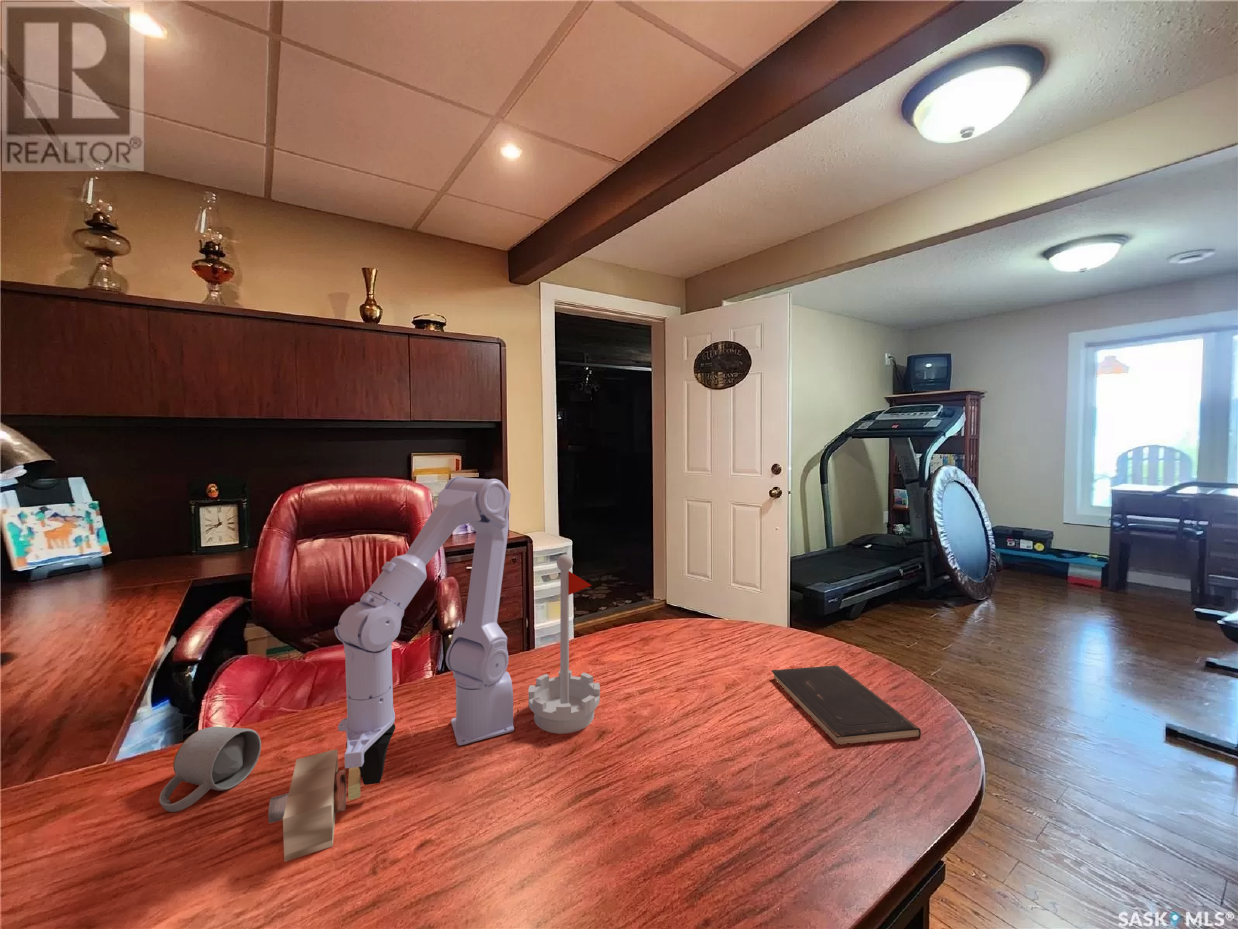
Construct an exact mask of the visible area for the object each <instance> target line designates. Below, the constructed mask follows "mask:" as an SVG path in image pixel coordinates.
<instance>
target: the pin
mask: <svg viewBox="0 0 1238 929" xmlns="http://www.w3.org/2000/svg"><path fill="white" fill-rule="evenodd" d="M288 795H289V792H288V793H285V794H281V795H278V796H277V795H276V796H273V797H270V800H269V804H268V811H267V812H268V817H267V819H268V824H272V823H276V822H280V821H283V816H284V812H285V808H286V803H287V799H288ZM346 806H347V770H346V769H343V770H338V772H335V778H334V812H335V813H336V814H337V813H338V814H339V813H341V812H343V811H346V809H347V808H346Z"/></svg>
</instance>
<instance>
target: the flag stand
mask: <svg viewBox="0 0 1238 929" xmlns="http://www.w3.org/2000/svg"><path fill="white" fill-rule="evenodd" d="M573 565H574V561H573V558H572V557H571V556H570V555H568V554H565V553H564V554H561V555H559V556H558V557H557V560H556V566H557V568H558V569H559V570H560V618H559V619H560V624H559V625H560V634H559V637H560V638H559V639H560V640H559V642H560V644H559V645H560V647H559V648H560V649H559V650H560V652H559V653H560V659H559V660H560V662H559V664H560V665H559V666H560V667H559V668H560V669H559V670H558V676H554V677H550V675H548V673H545V674H542V675H540V676H538V677H537V678H536V679H535V685H532V684H531V685H529V687H528V693H527V694H528V707H529V709H530V711H532V713H533V714H534V715H533V719H534V722H535V725H537V727H538V728H540V729H542V731H546V732H547V733H552V734H560V735H562V734H571V733H576V732H579V731H582V730H583V729H585V728H586V727H588V726H589V725H590V724H591V723H592V722H593V721H594V718H595V710H596V708H597V707H598V706H599V705H600V700H601V695H600V694H601V686H600V685H601V684H600V682H594V676H593V675H591V674H590V673H586V672H582V673H581V674H580V676H576V675H572V673H573V672H572V669H571V670H570V665H569V664H570V662H569V661H570V659H569V658H570V655H569V654H570V652H569V651H570V644H569V643H570V642H569V639H570V629H569V628H570V595H573V594H574V593H577V592H580V591H581V590H584V589H586V588H590V587H591V586H592V584H590V583H588V581H586V580H584V579H582V578H581V577H580V576H577V575H576V574H575V573H573V572H571V571H570V570H571V568H572V567H573Z"/></svg>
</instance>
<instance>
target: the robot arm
mask: <svg viewBox="0 0 1238 929" xmlns="http://www.w3.org/2000/svg"><path fill="white" fill-rule="evenodd" d="M511 496H512V494H511V492H510V491H509V490H508V488H507V487H506V485H505V484H504V483H503V481H502V480H499V479H497V478H490V479H488V478H486V479H485V478H473V477H464V476H461V475H460V476H454V477H452V478H450V479H449V480H448V481H447V483H446V484H445V485H444V488H443V489H442V490H441V491H440V492H438V494H437V504H436V506H435V508H434V509H433V511H432V513H431V514H430V516H429V517H428V519H427V520H426V522H425V523H424V524H423V527H422V528H421V530H420V531H419V533H418V535H417V536H416V537H415V539H414V541H413V542H412V543H411V544H410V547H409V548H408V550H407V551H406V553H404V554H400V555H397V556H394V557H392V558H391V559H390V561H385V563H384V565H383V566H382V567H381V570H382V571H381V573H379V575H378V576H377V578H376V579H375V581H374V582H373V583H372V585H371V586H370V587H369V588H368V590H367V591H366V592H365V593H363V594H362V596H361V597H360V600H359V601H357V602H354V604H351V605H349V606H348V607H347V608H346V609H345V610H344V611H343V612H342V614H341V615H340V618H339V620H338V625H337V626H334V630H333V631H334V634H335V637H336V638H337V639H338V640H339V641H340V642H341V643H342V644H343V652H344V656H345V662H344V663H345V664H344V665H345V687H346V688H345V689H346V690H345V691H346V692H345V693H346V711H347V712H346V714H347V715H346V717H344V718H343V719H341V720H340V721H339V723H338V725H337V731H338V732H345V734H346V736H345V737H346V741H345V748H346V750H345V752H344V754H343V755H344V769H349V768H354V767H359V769H360V772H361V775H360V778H361V781H362V784H363V785H364V786H369V785H376V784H377V785H378V784H380V783H381V781H382V778H383V774H384V769H385V762H386V757H387V753H388V750H389V749H388V748H389V744H390V742H391V740H392V737H393V735H394V732H395V730H396V724H395V721H396V714H395V710H394V709H395V708H394V697H393V696H394V695H393V694H394V691H393V690H394V687H393V662H392V661H393V658H392V657H393V656H392V655H393V654H392V650H393V649H392V643H393V642H394V641H395V640H396V639H397V637H398V636H399V634H400V632H401V627H402V619H403V617H404V616H405V610H406V609H407V607H408V606H409V604H410V603H411V601H412V600H413V598H414V597H415V595H416V594H417V593H418V591H419V590H420V588H421V587H422V585H423V584H424V582H425V581H426V579H427V576H428V574H427V569H426V567H427V565H428V563H430V561H431V560H432V559H433V557H434V556H435V555H436V554H437V552H438V551H439V550H440V548H441V547H442V546H443V545H444V544H445V543H446V541H447V540H448V539H449V537H450V536H452V534H453V533H454V531H455V530H456V529H457V528H458V527H459V526H463V525H467V524H469V525H470V526H471V527H472V529H473V530H474V531H475V541H474V550H473V556H472V563H471V571H470V579H469V585H468V586H469V588H468V592H467V593H468V594H467V600H466V601H467V602H466V610H465V616H464V622H463V623H461V624H460V625H459V626H457V627H456V628H455V629H454V630H453V634H452V639H451V642H450V644H449V646H448V647H447V650H446V654H445V663H446V666H447V668H448V669H449V670H450V671H451V672H452V674H453V675H452V676H453V679H455V717H453V718H451V720H450V723H451V727H452V730H453V733H454V737H455V741H456V744H457V746H463V745H468V744H472V743H475V742H478V741H482V740H485V739H489V738H493V737H497V736H500V735H504V734H508V733H512V732H514V730H515V726H514V691H513V690H514V689H513V682H512V678H511V675H510V673H509V671H507V668H508V666H509V665H508V664H509V659H510V658H509V657H510V656H509V653H508V652H509V651H508V647H507V646H508V636H507V635H506V633H505V632H504V630H503V629H502V628H501V627H500V625H499V623H498V617H499V616H498V615H499V608H500V599H501V592H502V582H503V577H504V576H503V575H504V567H505V561H506V560H505V559H506V550H507V544H508V535H509V529H510V528H509V526H510V520H509V511H510V502H511Z"/></svg>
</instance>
